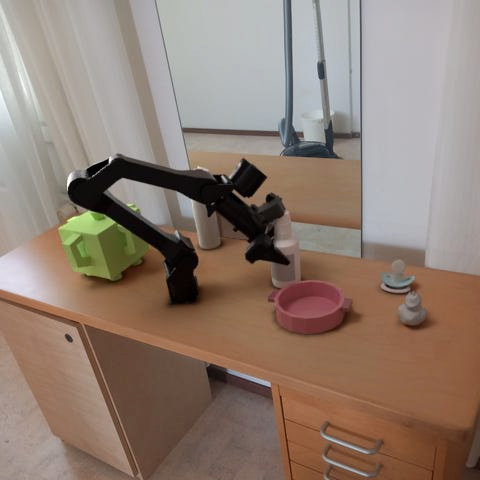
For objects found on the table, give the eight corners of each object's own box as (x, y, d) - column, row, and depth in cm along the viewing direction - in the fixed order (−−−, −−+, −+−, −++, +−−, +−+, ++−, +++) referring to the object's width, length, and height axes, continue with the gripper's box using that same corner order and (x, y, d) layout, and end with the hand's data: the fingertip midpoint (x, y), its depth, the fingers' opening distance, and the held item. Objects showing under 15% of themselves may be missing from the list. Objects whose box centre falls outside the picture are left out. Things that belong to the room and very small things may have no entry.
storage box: (115, 298, 122) (94, 235, 112) (52, 283, 132) (29, 225, 123) (173, 252, 139) (160, 194, 129) (114, 242, 149) (97, 187, 139)
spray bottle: (268, 279, 120) (261, 210, 110) (294, 272, 121) (290, 203, 111) (278, 292, 114) (272, 221, 104) (305, 285, 116) (302, 213, 105)
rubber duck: (393, 327, 99) (395, 293, 94) (403, 309, 103) (405, 276, 99) (421, 332, 96) (425, 298, 92) (429, 314, 100) (433, 281, 96)
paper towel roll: (213, 251, 136) (200, 176, 124) (195, 248, 139) (181, 174, 127) (227, 239, 141) (215, 166, 129) (209, 237, 144) (197, 164, 132)
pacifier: (409, 297, 107) (416, 282, 111) (411, 273, 103) (418, 258, 107) (376, 292, 110) (383, 278, 114) (376, 268, 106) (384, 254, 110)
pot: (260, 327, 104) (258, 312, 102) (282, 291, 115) (281, 276, 113) (342, 339, 97) (342, 323, 95) (358, 300, 108) (358, 284, 106)
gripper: (254, 205, 98) (311, 253, 102) (267, 172, 113) (317, 216, 116) (221, 241, 104) (277, 285, 108) (238, 206, 119) (286, 246, 123)
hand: (290, 256), depth 114 cm, fingers closed on spray bottle, 7 cm apart
